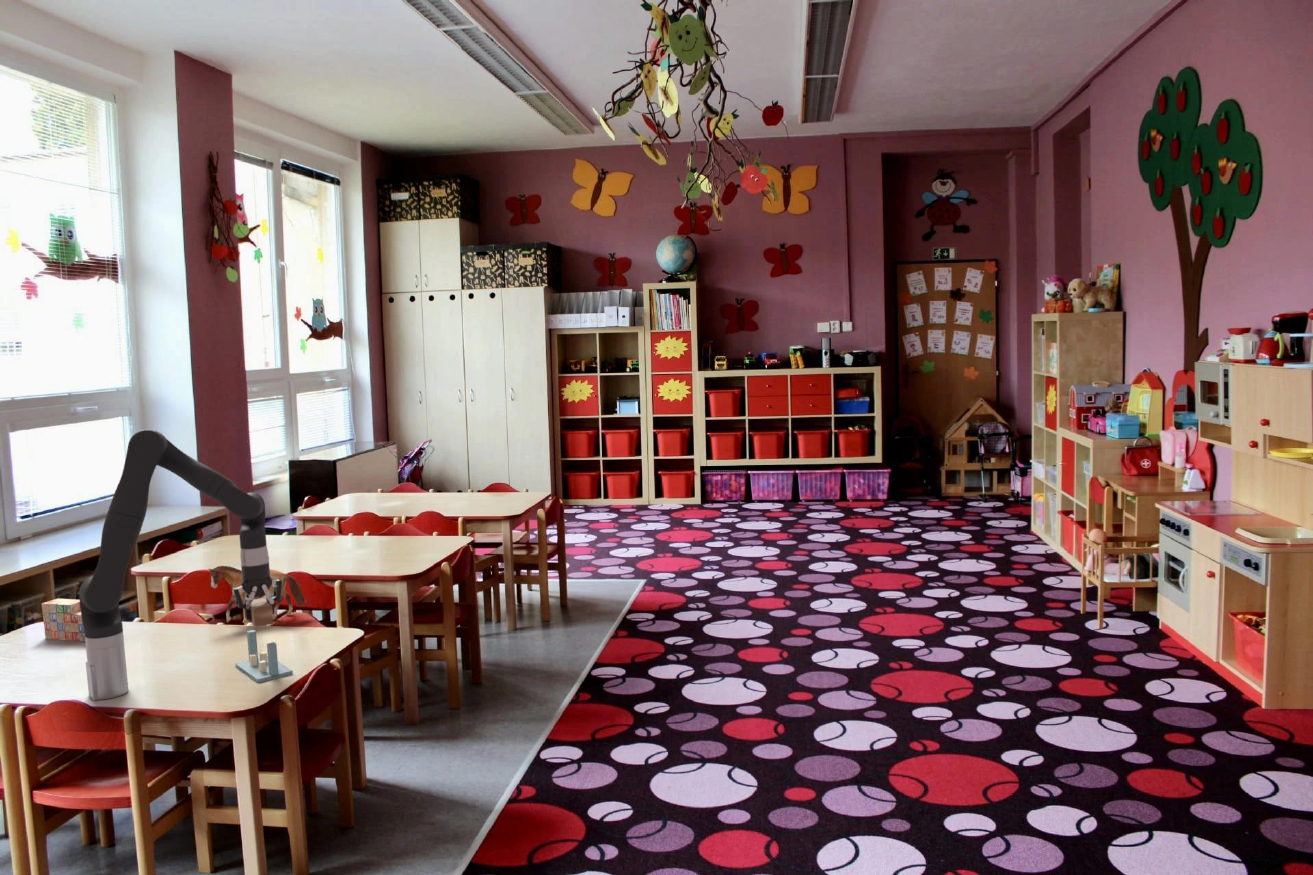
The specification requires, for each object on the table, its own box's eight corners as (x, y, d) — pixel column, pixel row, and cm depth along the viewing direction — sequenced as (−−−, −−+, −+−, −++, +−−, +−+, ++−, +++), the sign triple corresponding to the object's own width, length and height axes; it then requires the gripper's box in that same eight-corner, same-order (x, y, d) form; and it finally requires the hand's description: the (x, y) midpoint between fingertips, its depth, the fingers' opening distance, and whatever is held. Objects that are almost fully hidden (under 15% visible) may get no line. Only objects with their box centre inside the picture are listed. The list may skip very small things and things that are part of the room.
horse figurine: (211, 627, 332) (206, 568, 330) (216, 621, 340) (211, 563, 338) (307, 618, 340) (303, 560, 338) (310, 612, 347) (306, 555, 345)
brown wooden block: (247, 617, 289) (245, 600, 288) (265, 613, 291) (263, 597, 291) (255, 626, 279) (253, 609, 278) (273, 623, 281) (272, 606, 281)
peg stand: (257, 682, 277) (254, 648, 275) (235, 666, 291) (233, 634, 290) (292, 673, 283) (290, 640, 282) (269, 658, 297) (267, 626, 296)
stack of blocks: (110, 637, 325) (106, 601, 324) (94, 643, 319) (90, 606, 318) (61, 632, 332) (57, 597, 331) (44, 638, 326) (40, 602, 325)
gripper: (275, 555, 290) (280, 610, 292) (225, 564, 281) (230, 621, 283) (284, 559, 285) (289, 615, 287) (233, 568, 275) (238, 626, 277)
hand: (260, 618), depth 285 cm, fingers closed on brown wooden block, 5 cm apart
